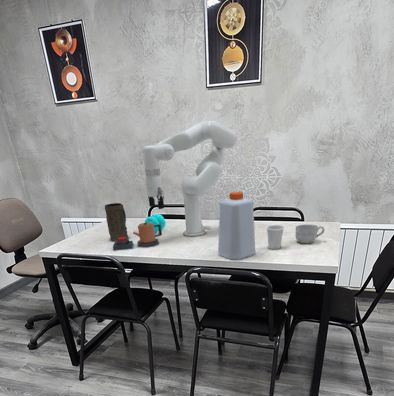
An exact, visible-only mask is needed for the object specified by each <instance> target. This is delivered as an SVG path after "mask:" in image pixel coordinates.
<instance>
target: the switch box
mask: <svg viewBox="0 0 394 396" xmlns="http://www.w3.org/2000/svg"><path fill="white" fill-rule="evenodd" d="M133 247H134V240H130V239H129V238H128V239H126V241H122V242H120V241H119V240H116V241H114V243H113V245H112V250H113V251H123V250H133Z"/></svg>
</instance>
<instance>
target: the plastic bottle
mask: <svg viewBox="0 0 394 396" xmlns="http://www.w3.org/2000/svg"><path fill="white" fill-rule="evenodd" d="M254 215H255V213H254V201H253V199H251V198H247V197H244V193H243V192H241V191H232V192H230V193H229V198H225V199H222V200H220V202H219V215H218V216H219V218H218V244H217V245H218V246H217V249H218V250H217V252H218V255H220V256H221V257H224V258H227V259H229V260H233V261H235V260H236V261H237V260H241V259H245V258H248V257H252V256H253V255H255V254H256V235H255V234H256V233H255V216H254Z"/></svg>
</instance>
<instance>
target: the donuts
mask: <svg viewBox="0 0 394 396" xmlns="http://www.w3.org/2000/svg"><path fill="white" fill-rule="evenodd" d="M144 223H152V224H153V225H158V224H160V225H161V231H162V230H164V229H165V227H166V219H165V218H164V216H163V215H162V214H160V213H154V214H153V215H152V216H147V217H146V218H145V219H144ZM158 232H159V230H158V227H154V233H155V234H156V233H158Z"/></svg>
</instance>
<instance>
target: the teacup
mask: <svg viewBox="0 0 394 396" xmlns="http://www.w3.org/2000/svg"><path fill="white" fill-rule="evenodd" d="M320 229H321V232H320V233H318V232H319V230H320ZM324 233H325V227H324V226H322V225H320V226H318V225H316V224H308V223H307V224H298V225H296V226H295V240H296V241H297V242H298V243H300V244H310V243H313V242H314V241H315V240H317V238H319V237H320V236H322V235H323V234H324Z"/></svg>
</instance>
